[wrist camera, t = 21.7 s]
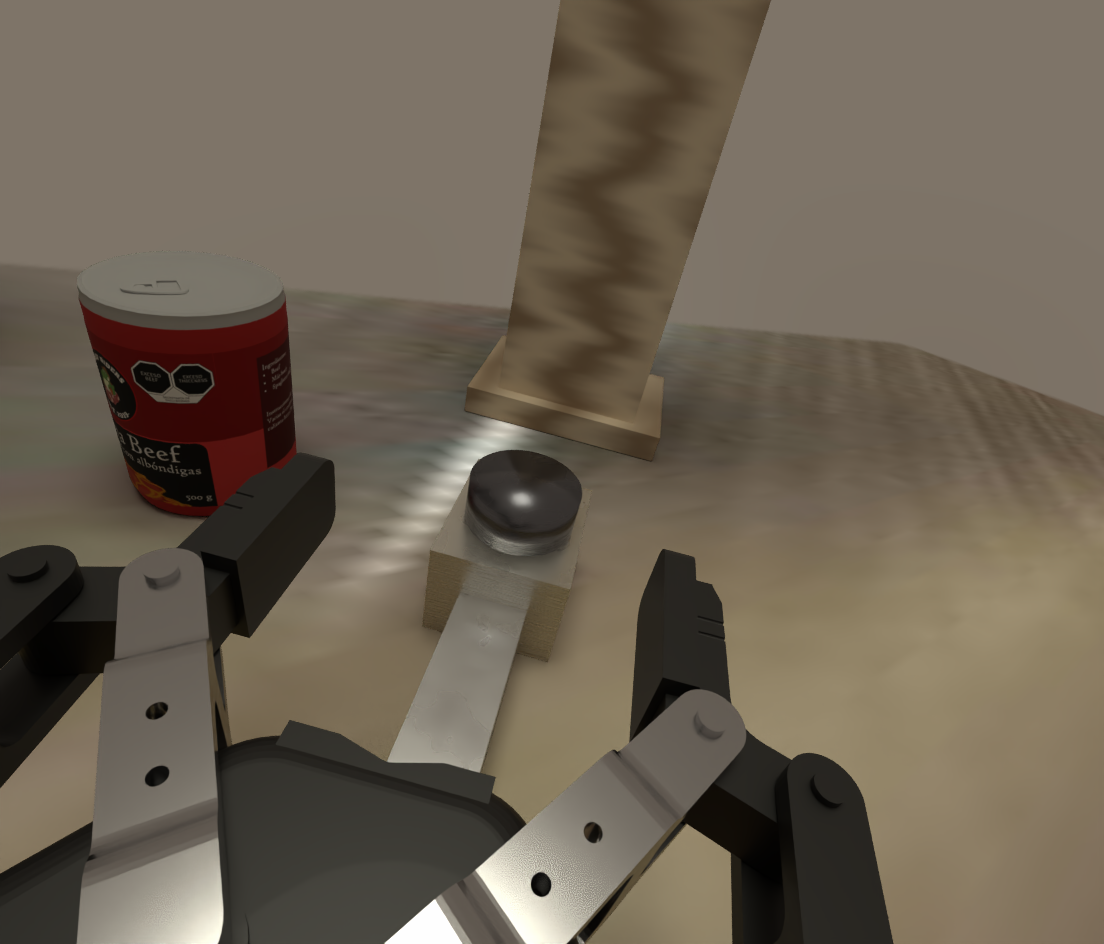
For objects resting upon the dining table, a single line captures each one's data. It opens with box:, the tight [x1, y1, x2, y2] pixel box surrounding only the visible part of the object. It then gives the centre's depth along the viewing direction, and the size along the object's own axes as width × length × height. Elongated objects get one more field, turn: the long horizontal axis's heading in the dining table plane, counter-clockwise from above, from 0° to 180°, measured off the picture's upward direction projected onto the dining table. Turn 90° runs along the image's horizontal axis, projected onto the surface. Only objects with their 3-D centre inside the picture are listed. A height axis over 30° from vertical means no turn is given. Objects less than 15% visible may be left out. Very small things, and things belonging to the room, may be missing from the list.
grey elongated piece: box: [387, 450, 592, 773], centre depth 23 cm, size 6×18×7 cm, turn 169°
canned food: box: [77, 251, 297, 516], centre depth 29 cm, size 8×8×11 cm
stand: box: [465, 0, 771, 461], centre depth 37 cm, size 14×10×33 cm
